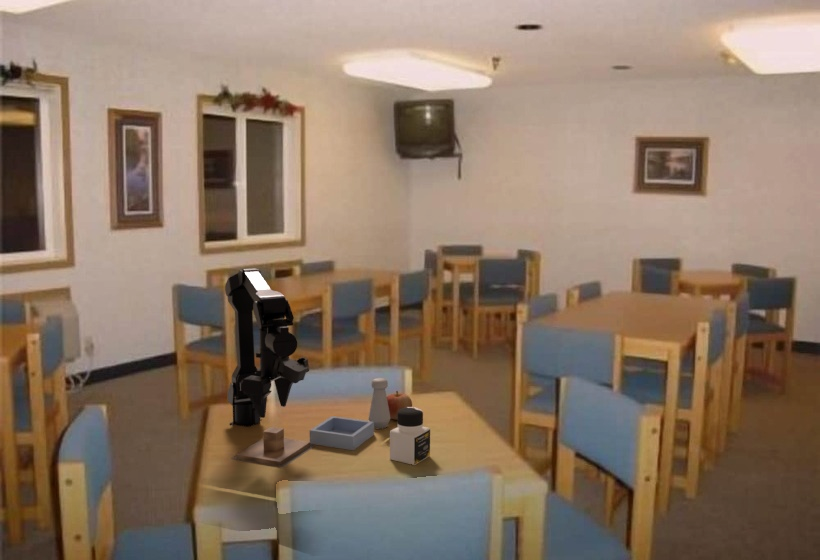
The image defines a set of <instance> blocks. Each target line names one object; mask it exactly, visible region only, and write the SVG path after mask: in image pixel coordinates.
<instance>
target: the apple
mask: <svg viewBox="0 0 820 560" xmlns="http://www.w3.org/2000/svg"><path fill="white" fill-rule="evenodd" d="M386 396H387V402H388V407H389V412H390V417H391V418H390V420H391V419H392V420H394V421H397V412H398V411H399V410H400V409H402V408H405V407H413V402H412V399H411V397H410V396H409V395H407V394H406V393H403V392H398V390H396V391H395V392H394V393H391V394H388V395H386Z"/></svg>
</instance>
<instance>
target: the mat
mask: <svg viewBox="0 0 820 560" xmlns="http://www.w3.org/2000/svg"><path fill="white" fill-rule="evenodd" d="M313 448H315V445H314V444H310V446H309V447H308V448H306V449H305V450H303V451H302V452H300V453H299V454H297V455H296V456H294V457H293V458H291V459H290V460H288V461H287V462H285V463H284V464H282V465H281V466H278V465H272V464H266V463H260V462H254V461H248V460H242V459H236V455H235V456H232V458H231V460H237V461H243V462H248V463H254V464H260V465H265V466H271V467H279V468H285V467H286V466H287V465H289V464H291V463H292V462H293V461H295V460H296V459H298V458H299V457H301V456H302V455H304V454H305V453H306V452H309V451H310V450H311V449H313Z"/></svg>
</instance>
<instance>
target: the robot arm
mask: <svg viewBox="0 0 820 560" xmlns="http://www.w3.org/2000/svg"><path fill="white" fill-rule="evenodd" d="M224 291H225V295H226V297H227V301H228V302H227V303H228V304H229V305H230V306H231V307H232V309H233V311H234V322H235V324H234V325H235V341H236V342H235V344H236V346H235V347H236V367H235V369H234V371H233V372H232V375H231V382H229V383H230V384H229V387H228V390H227V393H226V394H227V395H226V397H227V401H228V403H229V404H230V406H232V421H231V422H229V426H240V427H241V426H242V427H247V428H248V427H249V428H251V427H253V426H254V425H257V424H259V423H260V422H262V421H263V419H264V418H266V412H267V401H268V400H267V398H268V396H269V395H270V394H271V393H272V390H271V389H272V382H274V386H275V388H276V393H277V397H278V401H279V404H280V407H283V408H285V407H286V406H287V403H288V400H289V396H290V392H291V389H292V386H293V384H297V383H299V382H300V381H303V380H305V376H306V374H307V373H308V372H310V368H309V367H310V366H309V359H308V358H306V357H305V356H302V357H300V358H298V359H296V358H294V359H292V358H290V357H291V356H292V355H293V354H294V353H296V351H297V348H298V341H297V340H298V339H297V337H296V336H295V335H294V334H293V333H291V332H290V330H289V327H291V326H294V318H295V317H294V314H293V310H292V307H291V305H290V303H289V300H288V298H286V297H285V295H283V293H281V292H280V291H276V290H274V289H273V290H272V288H271V287H270V286H269V284H268V283H267V281H266V279H264V276H263V275H262V272H261V270H260V269H259V268H243V269H240V270H238V272H237V273H235V274H233V275H232V276H230V277H228V279H227V280H226V282H225V284H224ZM253 315H254V317H255V321H256V324H257V326H258V328H259V329H258V335H259V337H258V338H259V340H258V341H259V351H258V352H256V353H255V339H254V320H253V318H254V317H253ZM255 357H256V358H259V368H257V366H256V362H255V359H256V358H255ZM261 418H262V419H261Z"/></svg>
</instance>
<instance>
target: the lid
mask: <svg viewBox="0 0 820 560" xmlns="http://www.w3.org/2000/svg"><path fill="white" fill-rule="evenodd" d="M284 430H285V429H284V428H282V427H275V426H271V427H268V428H267V429H265V430H263V433H262V434H263V437H262V439H260V440H258V441H256V442H255V443H253V444H250V445H249V446H247V447H246V448H244V449H242V450H241V451H239V452H237V453H236V454H235V456H236V459H242V460H248V461H254V462H260V463H266V464H272V465H278V466H281V465H282V464H284V463H285V462H287V461H288V460H290V459H291V458H293V457H294V456H296V455H297V454H299V453H300V452H302V451H303V450H305V449H306V448H308V447H309V446H310V445H311V444H310V441H308V440H307V441H306V440H299V439H293V438H286V437H285V431H284Z"/></svg>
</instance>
